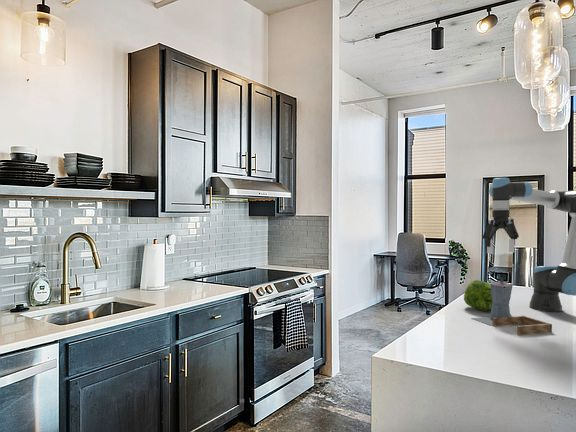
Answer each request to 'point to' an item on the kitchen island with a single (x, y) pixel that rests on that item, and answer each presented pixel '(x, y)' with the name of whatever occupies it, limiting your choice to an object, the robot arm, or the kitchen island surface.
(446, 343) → the kitchen island surface
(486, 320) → the mat
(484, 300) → the lettuce
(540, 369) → the kitchen island surface
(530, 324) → the brown wooden frame
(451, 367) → the kitchen island surface
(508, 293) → the moka pot
